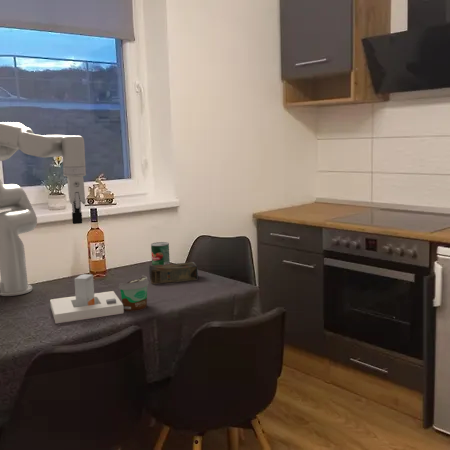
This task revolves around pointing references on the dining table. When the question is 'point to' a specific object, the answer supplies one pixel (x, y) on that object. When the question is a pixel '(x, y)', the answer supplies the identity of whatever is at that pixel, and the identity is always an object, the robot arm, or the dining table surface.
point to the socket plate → (86, 307)
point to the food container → (134, 294)
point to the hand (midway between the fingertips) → (77, 223)
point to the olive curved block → (173, 272)
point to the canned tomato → (160, 253)
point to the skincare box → (84, 290)
